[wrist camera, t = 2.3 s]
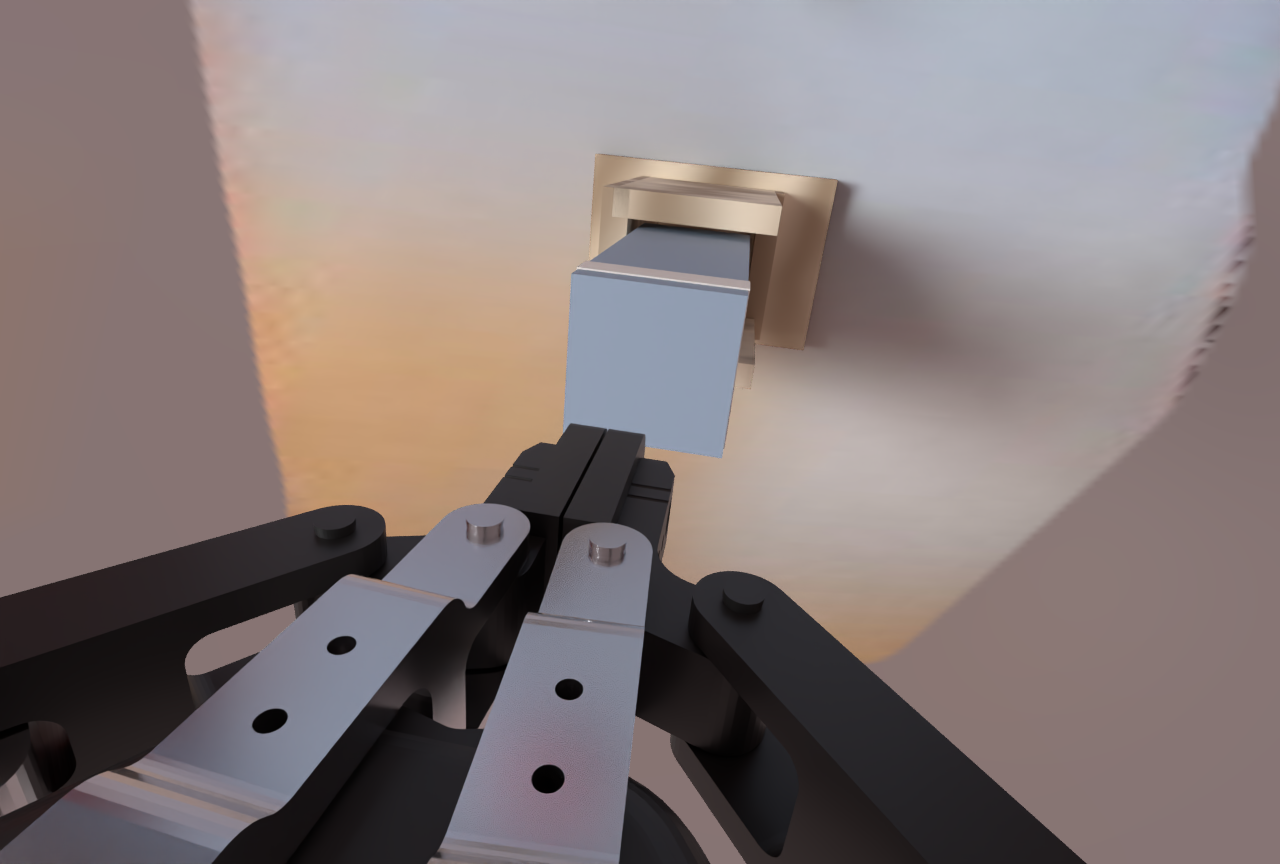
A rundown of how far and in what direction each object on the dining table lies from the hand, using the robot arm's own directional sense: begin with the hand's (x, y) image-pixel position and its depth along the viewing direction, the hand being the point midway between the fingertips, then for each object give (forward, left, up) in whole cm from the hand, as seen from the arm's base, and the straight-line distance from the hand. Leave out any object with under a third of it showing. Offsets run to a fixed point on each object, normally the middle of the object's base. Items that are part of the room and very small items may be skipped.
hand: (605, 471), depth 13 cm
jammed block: (0, 0, -21) cm, 21 cm away
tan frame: (0, 0, -31) cm, 31 cm away
